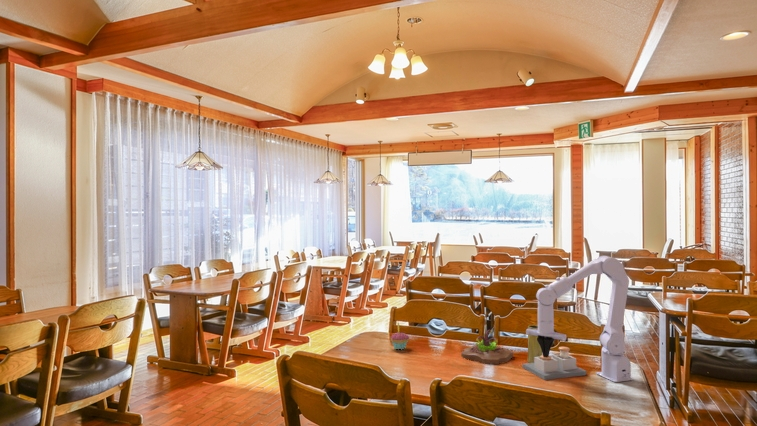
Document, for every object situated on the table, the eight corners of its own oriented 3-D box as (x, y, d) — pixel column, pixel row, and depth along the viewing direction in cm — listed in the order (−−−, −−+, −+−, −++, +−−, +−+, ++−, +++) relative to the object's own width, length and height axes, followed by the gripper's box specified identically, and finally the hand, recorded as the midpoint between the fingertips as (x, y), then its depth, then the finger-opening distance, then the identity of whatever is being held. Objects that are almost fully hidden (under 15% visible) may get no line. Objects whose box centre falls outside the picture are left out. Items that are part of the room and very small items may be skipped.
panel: (586, 375, 170) (586, 360, 170) (544, 379, 166) (544, 364, 166) (562, 363, 184) (561, 349, 184) (522, 367, 179) (522, 353, 179)
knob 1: (553, 370, 171) (553, 357, 171) (544, 371, 170) (544, 358, 170) (547, 366, 175) (547, 354, 175) (538, 367, 174) (538, 355, 174)
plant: (520, 356, 194) (520, 330, 194) (496, 367, 180) (496, 339, 180) (480, 347, 208) (480, 322, 208) (454, 357, 195) (454, 330, 195)
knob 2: (571, 361, 174) (571, 348, 174) (563, 362, 173) (563, 349, 173) (565, 358, 177) (565, 346, 177) (556, 359, 176) (556, 347, 176)
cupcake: (387, 347, 208) (387, 321, 208) (403, 345, 212) (403, 319, 212) (396, 352, 200) (395, 325, 200) (413, 350, 204) (412, 323, 204)
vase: (525, 362, 185) (525, 327, 185) (528, 358, 190) (528, 324, 191) (541, 364, 182) (541, 329, 182) (544, 360, 188) (543, 325, 188)
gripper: (568, 321, 171) (569, 357, 171) (530, 315, 181) (531, 350, 181) (562, 324, 166) (562, 362, 166) (523, 319, 175) (524, 354, 175)
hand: (545, 356), depth 173 cm, fingers closed, pressing on knob 1
